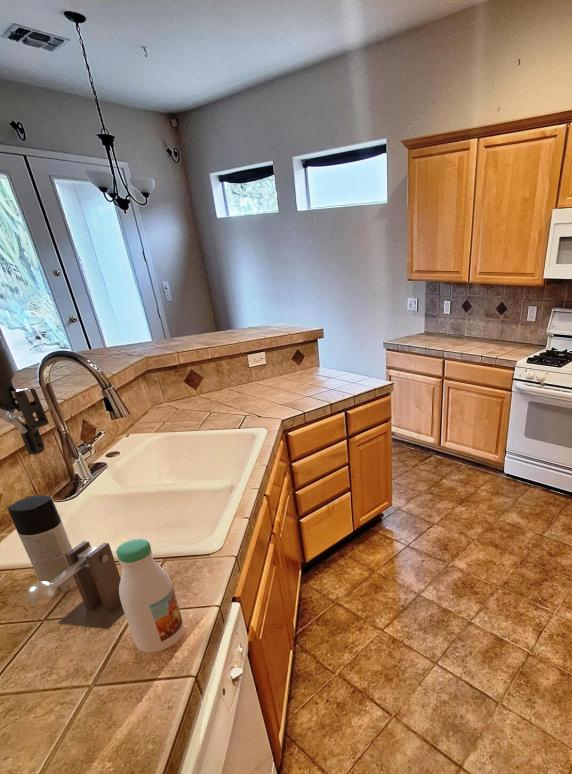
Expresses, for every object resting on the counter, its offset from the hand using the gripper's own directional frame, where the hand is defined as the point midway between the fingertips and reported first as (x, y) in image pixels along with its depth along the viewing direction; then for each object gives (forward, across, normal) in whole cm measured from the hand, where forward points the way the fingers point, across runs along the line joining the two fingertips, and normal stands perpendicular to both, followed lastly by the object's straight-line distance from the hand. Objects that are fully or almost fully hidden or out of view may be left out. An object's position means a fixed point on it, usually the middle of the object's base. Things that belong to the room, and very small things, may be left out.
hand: (13, 451), depth 69 cm
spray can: (+32, +6, -4) cm, 33 cm away
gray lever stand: (+32, -7, 0) cm, 33 cm away
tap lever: (+22, -7, +5) cm, 24 cm away
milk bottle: (+32, -22, +6) cm, 40 cm away
